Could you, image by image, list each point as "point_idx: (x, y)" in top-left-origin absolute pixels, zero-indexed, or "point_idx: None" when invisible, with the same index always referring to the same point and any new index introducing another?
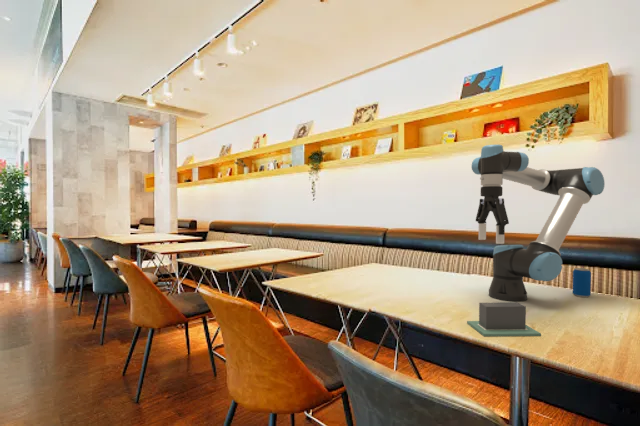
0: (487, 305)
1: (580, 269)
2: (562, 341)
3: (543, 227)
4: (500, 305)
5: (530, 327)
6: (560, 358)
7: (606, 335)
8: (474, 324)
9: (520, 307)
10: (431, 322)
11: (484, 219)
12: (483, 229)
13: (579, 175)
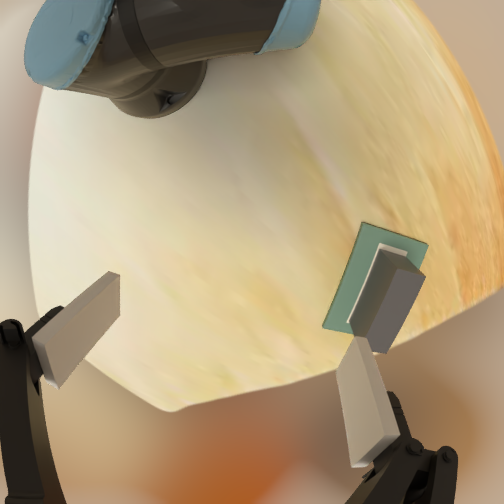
0: (381, 347)
1: None
2: (452, 229)
3: None
4: (395, 323)
5: (402, 236)
6: (474, 290)
7: (458, 120)
8: (344, 327)
9: (419, 287)
10: (292, 373)
11: (32, 391)
12: (79, 334)
13: None
